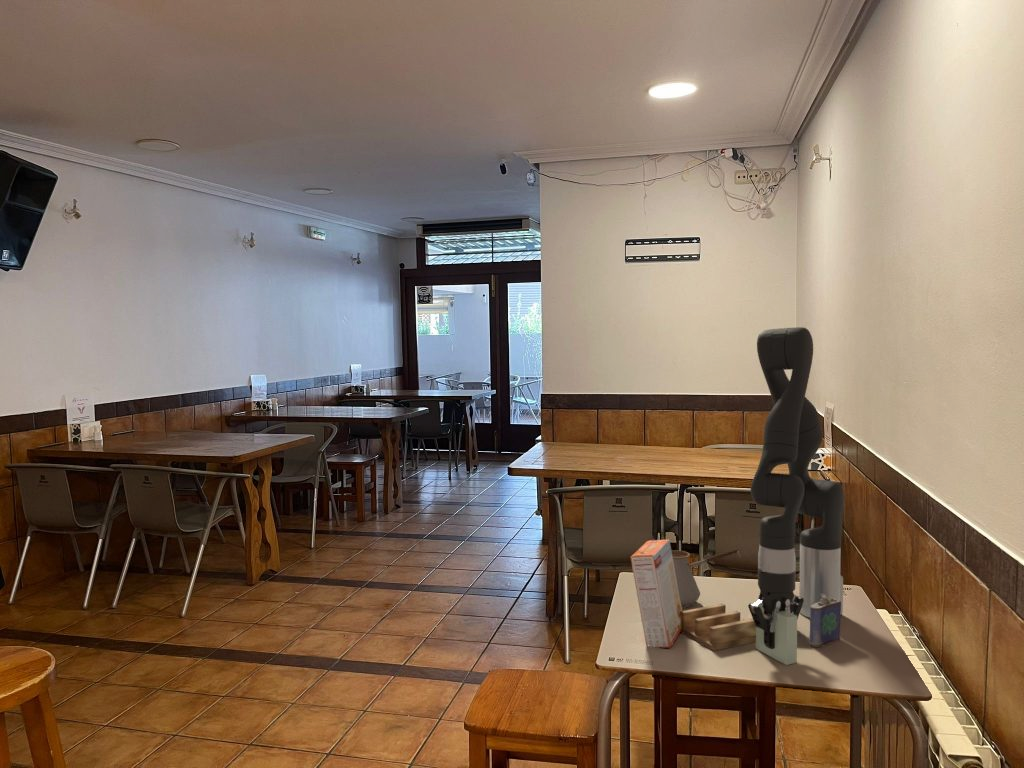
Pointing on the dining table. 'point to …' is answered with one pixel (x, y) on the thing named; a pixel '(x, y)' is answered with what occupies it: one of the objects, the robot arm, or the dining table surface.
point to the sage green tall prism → (781, 638)
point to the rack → (717, 627)
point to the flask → (825, 621)
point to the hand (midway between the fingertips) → (775, 645)
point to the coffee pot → (690, 575)
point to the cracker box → (657, 593)
